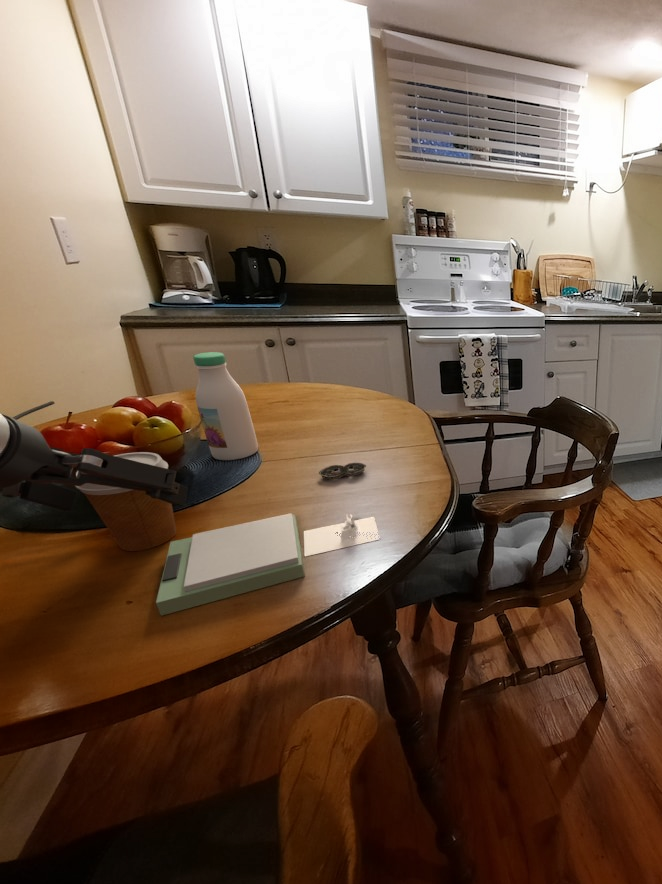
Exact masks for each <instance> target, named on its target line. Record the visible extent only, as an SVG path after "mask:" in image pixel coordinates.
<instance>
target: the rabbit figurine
mask: <svg viewBox="0 0 662 884" xmlns="http://www.w3.org/2000/svg"><path fill="white" fill-rule="evenodd" d="M349 516H350V517H349ZM345 519H346V520H344V522H343V523H344V525H342V526H341V527H340V533H341V534H340V536H341V537H340V539H341V540H342V539H345V538H348V537H349V536H351V538H352V537H353V538H354V537H356V533H357V532H358V531H359V527H358V525H357V523H356V522H355V519H354V516H353V514H351V513H349V514H348V513H345Z"/></svg>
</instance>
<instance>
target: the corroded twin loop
mask: <svg viewBox="0 0 662 884" xmlns="http://www.w3.org/2000/svg"><path fill="white" fill-rule="evenodd" d="M366 467H367V465H366V464H364V463H361V462H349V463H347V464H345V465H341V464H333V465H329V466H327V467H324V468H322V469H320V470H319V471H318V475H320V476H321V478H323V479H326V480H327V479H328V480H331V481H333V480H337V479H340V478H342V477H344V476H346V477H355V476H358V475H360V474H362V473H363V472H364V471H365V468H366Z"/></svg>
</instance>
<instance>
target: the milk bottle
mask: <svg viewBox="0 0 662 884" xmlns="http://www.w3.org/2000/svg"><path fill="white" fill-rule="evenodd" d="M192 359H193V362H194V365H195V368H196V369H197V370H198V381H197V385H196V389H195V404H196V407H197V411H198V414H199V418H200V422H201V425H202V429H203V432H204V435H205V437H206V441H207V444H208V445H207V446H208V448H209V452H210V454H211V456H212V457H213V459H216V460H218V461H234V460H240V459H245V458H247V457H250V456H252V455H254V454H256V453H257V452H258V450H259V442H258V439H257V436H256V432H255V427H254V424H253V420H252V417H251V413H250V409H249V405H248V402H247V399H246V396H245V393H244V391H243V389H242V388H241V386H240V385H239V384H238V382H236V380H235V379H234V378H233V376H232V375H231V374H230V372H229V371H228V369H227V365H228V363H227V360H226V357H225V354H224V353H223V352H219V351H210V352H209V351H207V352H200V353H197V354H195V355H193V358H192Z"/></svg>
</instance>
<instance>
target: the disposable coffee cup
mask: <svg viewBox="0 0 662 884" xmlns="http://www.w3.org/2000/svg"><path fill="white" fill-rule="evenodd" d="M114 456H116V457H120V458H124V459H128V460H132V461H137V462H141V463H145V464H149V465H153V466H157V467H162V468H166V469H169V464H168V462H167V461H166V460H164V459H163V458H162V457H161V455H160V454H158V453H155V452H148V451H139V452H137V451H135V452H127V453H120V454H116V455H115V454H114ZM77 474H78V471H77V470H76V472H75V477H76V478H77ZM76 478H75V479H76ZM74 487H75V488H76V489H77V490H79V491H80V492H81V493H83V494H84V495H85V497H86V499H87V500H88V502H89V503H90V504H91V505H92V507H93V509H94V510H95V511H96V513H97V514H98V516H99V518H100V520H101V521H102V522H103V524H104V525H105V526H106V528H107V529H108V531H109V532H110V534H111V536H112V537H113V538H114V540H115V542H116V543H117V544H118V546H119V548H120V549H121V550H123V551H128V552H135V551H136V552H138V551H144V550H148V549H152V548H155V547H158V546H161V545H163V544H165V543H166V542H168V541H170V540H171V539H172V538H174V536H175V535H176V534H177V527H176V521H175V516H174V510H173V504H171V503H168V502H165V501H163V500H160V499H157V498H151V496H149V495H146V491H140V490H133V489H126V488H119V487H112V486H104V485H97V484H90V483H85V484H83V485H81V486H74Z"/></svg>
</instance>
